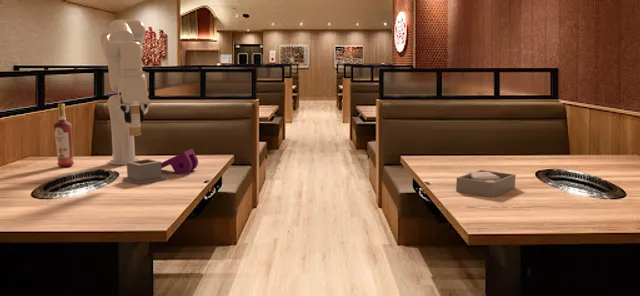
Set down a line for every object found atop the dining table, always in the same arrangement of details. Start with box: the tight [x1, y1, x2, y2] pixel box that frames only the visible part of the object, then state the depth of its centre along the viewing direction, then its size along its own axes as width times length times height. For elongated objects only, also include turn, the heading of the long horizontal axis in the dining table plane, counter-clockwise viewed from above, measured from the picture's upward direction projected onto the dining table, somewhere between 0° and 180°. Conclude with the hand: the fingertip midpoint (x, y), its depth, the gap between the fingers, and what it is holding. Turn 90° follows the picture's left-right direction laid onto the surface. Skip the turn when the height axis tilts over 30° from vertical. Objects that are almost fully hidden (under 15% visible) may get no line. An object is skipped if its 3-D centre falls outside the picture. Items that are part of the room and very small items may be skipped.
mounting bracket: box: [161, 148, 199, 175], centre depth 220 cm, size 10×8×18 cm
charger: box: [467, 171, 500, 182], centre depth 188 cm, size 5×9×15 cm
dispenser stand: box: [455, 169, 517, 198], centre depth 188 cm, size 14×20×5 cm
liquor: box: [53, 103, 75, 168], centre depth 229 cm, size 7×7×28 cm
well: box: [122, 158, 167, 186], centre depth 203 cm, size 12×12×7 cm
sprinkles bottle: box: [128, 101, 142, 137], centre depth 199 cm, size 5×5×13 cm
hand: (134, 121), depth 199 cm, fingers closed on sprinkles bottle, 4 cm apart
